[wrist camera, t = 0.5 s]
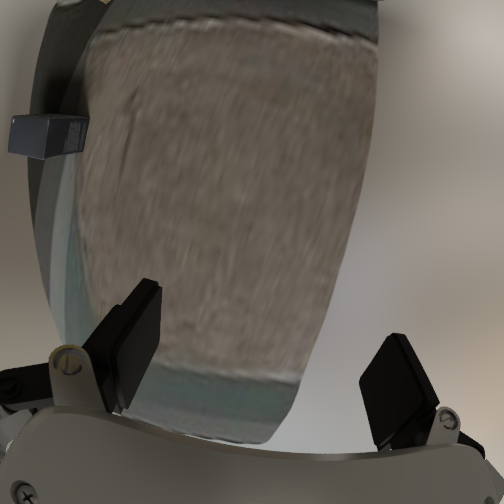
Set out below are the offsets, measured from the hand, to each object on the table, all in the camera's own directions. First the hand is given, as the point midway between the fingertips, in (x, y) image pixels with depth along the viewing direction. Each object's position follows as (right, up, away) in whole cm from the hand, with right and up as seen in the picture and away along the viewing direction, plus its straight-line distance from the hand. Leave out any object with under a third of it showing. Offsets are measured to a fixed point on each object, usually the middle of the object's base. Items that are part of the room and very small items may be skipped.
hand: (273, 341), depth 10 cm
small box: (-33, +24, +25) cm, 48 cm away
